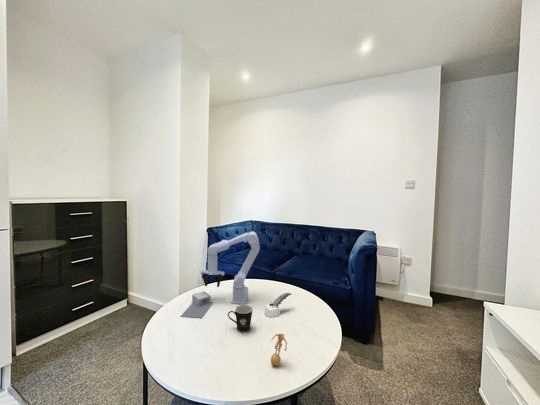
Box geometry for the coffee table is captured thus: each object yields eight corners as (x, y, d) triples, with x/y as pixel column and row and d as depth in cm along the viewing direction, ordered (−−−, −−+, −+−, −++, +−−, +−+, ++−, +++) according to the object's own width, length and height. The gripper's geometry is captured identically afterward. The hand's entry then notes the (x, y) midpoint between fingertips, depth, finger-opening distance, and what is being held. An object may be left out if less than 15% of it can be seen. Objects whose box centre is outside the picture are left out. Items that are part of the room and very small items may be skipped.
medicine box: (210, 302, 144) (203, 297, 150) (210, 295, 143) (203, 290, 150) (198, 306, 138) (191, 301, 144) (198, 299, 138) (192, 294, 144)
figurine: (264, 361, 96) (265, 332, 95) (275, 354, 100) (276, 326, 100) (279, 373, 90) (280, 342, 89) (290, 365, 94) (291, 336, 93)
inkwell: (261, 311, 135) (261, 294, 134) (286, 304, 145) (286, 288, 144) (269, 319, 127) (270, 301, 127) (295, 310, 137) (296, 294, 136)
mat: (213, 302, 144) (213, 302, 144) (201, 318, 126) (201, 317, 126) (194, 301, 145) (194, 300, 145) (180, 316, 127) (180, 316, 127)
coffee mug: (255, 326, 120) (255, 307, 120) (246, 335, 113) (247, 315, 112) (235, 320, 125) (236, 302, 125) (226, 328, 117) (226, 309, 117)
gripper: (198, 265, 142) (198, 287, 142) (222, 267, 140) (221, 289, 141) (203, 262, 149) (202, 283, 149) (225, 263, 147) (225, 284, 148)
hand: (212, 286), depth 146 cm, fingers open, 7 cm apart
